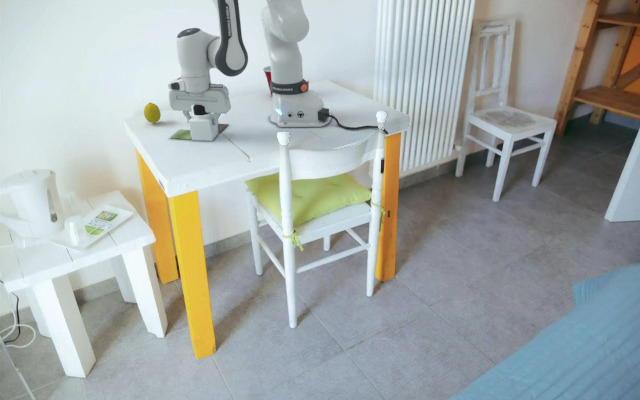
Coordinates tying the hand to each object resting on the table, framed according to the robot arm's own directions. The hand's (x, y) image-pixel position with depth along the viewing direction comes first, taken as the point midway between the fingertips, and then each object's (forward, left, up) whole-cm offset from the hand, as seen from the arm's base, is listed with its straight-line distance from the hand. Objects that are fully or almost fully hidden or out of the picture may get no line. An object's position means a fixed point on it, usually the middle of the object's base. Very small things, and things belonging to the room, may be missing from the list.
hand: (203, 123), depth 154 cm
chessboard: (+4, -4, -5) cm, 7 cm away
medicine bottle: (0, 0, -5) cm, 5 cm away
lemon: (+24, -8, -5) cm, 25 cm away
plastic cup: (-11, -46, -5) cm, 47 cm away
